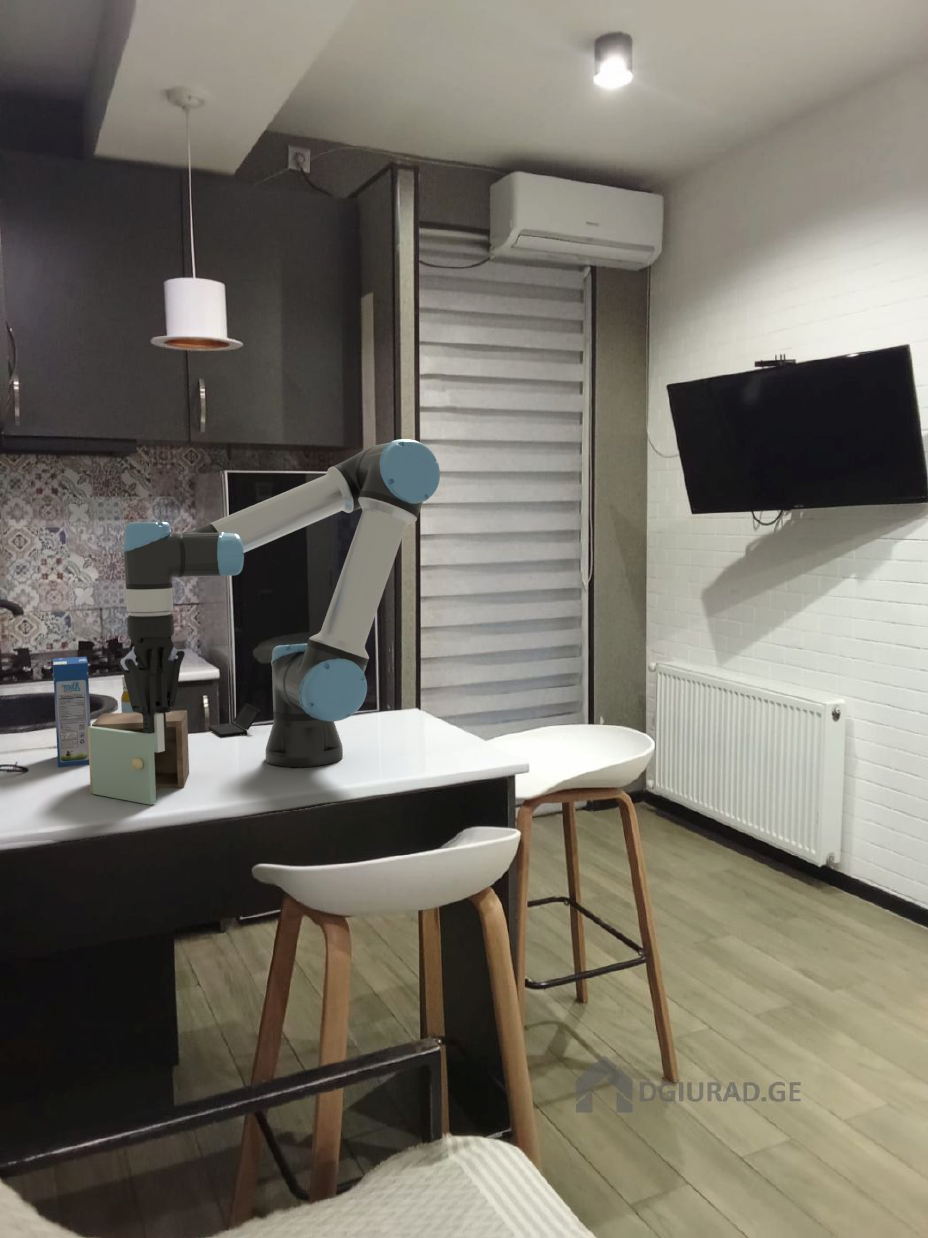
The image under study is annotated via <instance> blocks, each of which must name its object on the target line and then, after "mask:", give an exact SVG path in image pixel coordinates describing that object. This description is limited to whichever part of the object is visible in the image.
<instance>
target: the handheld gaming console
mask: <svg viewBox="0 0 928 1238" xmlns="http://www.w3.org/2000/svg"><path fill="white" fill-rule="evenodd" d="M260 713H261V709H259V708H257V707H255V706H253V705H252V704H249V703H248V702H245V703H244V704H243V706H242V707H241V708H240V710H239V711H238V713H237V714H236V716H235V717H234V718H233V721H231V722H229V723H220V724H214V725H213V724H212V725H208V726H207V727H208V728H207V729H208V730H209V731H210V732H212V733H213V734H215V736H217V737H220V738H231V737H239V736H248V731H249V730H250V728H251V727H252V725H253V723H254V722H255V721H256V718H257V717H258V716H259V715H260Z"/></svg>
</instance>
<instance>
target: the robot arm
mask: <svg viewBox="0 0 928 1238" xmlns="http://www.w3.org/2000/svg"><path fill="white" fill-rule="evenodd" d="M440 478H441V469H440V465H439V462H438V461H437V458H436V455H435V453H433V451H432V450H431V449H430V448H429V447H428V446H426V445H425V444H424V443H422V442H419V441H417V440H413V439H395V440H392V441H390V442H386V443H381V444H375V445H372V446H370V447H367V448H366V449H364V450H362V451H360V452H359V453H357V454H356V455H355V454H354V456H351V457H350V458H347V459H346V460H344V461H342V462H339V463H338V464H336V465H332V466H330V467H329V468H328V469H327V472H326V474H325V475H322V476H320V477H317V478H315V479H313V480H311V481H308V482H306V483H303V484H301V485H299V486H296V487H293V488H291V489H289V490H287V491H285V492H282V493H280V494H277V495H274V496H273V497H269V498H268V499H265V500H263V501H261V502H258V503H255V504H254V505H250V506H248V507H246V508H243V509H241V510H239V511H236V512H234V513H232V514H229V515H227V516H226V515H225V516H224V517H222V518H220V519H217V520H215V521H212V522H210V523H208V524H205V525H203V526H201V527H198V528H196V529H193V530H191V531H184V532H182V533H176V532H172V529H171V525H170V523H169V522H166V521H131V522H128V523H127V524H125V527H124V530H123V531H124V532H123V549H122V550H123V559H124V577H125V579H124V581H125V600H126V601H125V602H126V611H127V612H128V613H130V615H127V617H126V628H127V636H128V637H129V639H130V643H129V648H128V653H127V654H126V655H125V656H124V657H119V658H117V662H116V663H117V665H118V666H119V668H120V670H121V671H122V676H123V675H124V679H125V683H126V687H127V691H128V695H129V699H130V703H131V707H132V711H133V712H138V713H141V714H142V715H143V731H144V733H146V734H153V736H154V752H157V753H159V752H162V751H165V745H164V730H166V713H169V712H170V711H172V710H171V709H172V708H173V707H175V705H176V699H177V693H178V685H179V680H180V673H181V666H182V662H183V660H184V659H185V658H184V657H185V654H186V653H185V651H184V650H179V649H177V648H175V647H174V641H173V640H172V636H173V635H174V634H175V621H174V620H175V619H174V615H173V614H172V613H171V612H173V611H174V596H173V594H174V593H173V578H192V577H194V578H200V577H201V578H202V577H203V578H206V577H221V578H224V577H226V576H227V577H228V576H229V577H231V576H237V575H239V574H241V572H242V571H243V567H244V561H245V553H246V552H249V551H251V550H253V549H256V548H259V547H261V546H263V545H266V544H268V543H271V542H272V541H275V540H277V539H279V538H282V537H284V536H287V535H288V534H291V533H293V532H295V531H298V530H300V529H302V528H305V527H307V526H310V525H312V524H314V523H316V522H319V521H321V520H324V519H326V518H328V517H330V516H333V515H334V514H338V513H339V512H341V511H343V512H345V513H347V514H350V513H352V512H354V511H357V510H359V509H361V511H362V512H361V515H360V518H359V521H358V524H357V526H356V529H355V533H354V535H353V538H352V541H351V544H350V546H349V549H348V552H347V555H346V558H345V561H344V563H343V567H342V569H341V572H340V575H339V578H338V581H337V583H336V587H335V589H334V592H333V594H332V598H331V601H330V604H329V606H328V609H327V611H326V616H325V618H324V621H323V624H322V627H321V630H320V631H318V633H317V634H314V635H312V636H310V637H309V638H308V642H307V643H296V644H285V645H277V646H275V647H274V648H273V649H272V652H271V661H270V664H271V671H272V672H271V674H272V678H271V679H272V702H273V703H272V706H273V724H272V726H271V730H270V734H269V736H268V739H267V743H266V747H265V761H266V762H267V763H268V764H271V765H273V766H277V767H287V768H304V767H308V768H309V767H318V766H325V765H328V764H333V763H335V762H338V761H341V759H343V755H344V754H343V753H344V752H343V743H342V739H341V738H340V735H339V731H338V730H337V729H338V728H337V726H336V723H335V722H339V721H343V720H345V719H348V718H349V717H351V716H353V715H354V714H355V713H356V712H357V711H358V710H359V709H360V708H361V707H362V705H363V704H364V702H365V699H366V698H367V697H366V696H367V692H368V684H367V683H368V682H367V679H366V678H367V677H366V676H365V671H366V668H367V665H368V663H369V659H370V657H369V654H368V652H367V650H366V643H367V641H368V637H369V635H370V631H371V629H372V625H373V623H374V620H375V617H376V614H377V611H378V609H379V605H380V602H381V599H382V597H383V594H384V590H385V588H386V584H387V582H388V579H389V577H390V574H391V571H392V568H393V565H394V562H395V559H396V556H397V554H398V553H397V552H398V551H399V547H400V545H401V542H402V539H403V536H404V532H405V530H406V528H407V526H409V525H411V524H413V523H415V522H417V520H418V518H419V514H420V512H421V509H422V506H423V503H424V502H427V501H428V500H429V499H430V498H431V497H432V496H433V495H434V494H435V493H436V491H437V489H438V487H439V484H440Z"/></svg>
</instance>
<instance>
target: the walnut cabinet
mask: <svg viewBox="0 0 928 1238" xmlns="http://www.w3.org/2000/svg"><path fill="white" fill-rule="evenodd" d="M91 726H94V727H103V728H110V729H117V730H125V731H132V732H139V733H144V731H143V715H142V714H141V713H138V712H134V713H122V712H115V713H114V712H113V713H101V715H99V716H98V717H97V719H95V721H94V722H92V724H91ZM188 728H189V727H188V710H187V709H186V710H170V712H169V713H166V730H164V745H165V751H162V752H159V753H157V752H154V761H155V786H156V789H163V788H164V789H165V788H167V789H168V788H178V789H179V788H180V789H181V788H182V789H183V788H185V785H186V783H187V780H188V778H189V775H190V759H189V756H190V755H189V752H190V751H189V731H188Z"/></svg>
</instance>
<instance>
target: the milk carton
mask: <svg viewBox="0 0 928 1238" xmlns="http://www.w3.org/2000/svg"><path fill="white" fill-rule="evenodd" d="M88 663H89V662H88V658H87V656H76V657H59V658H58V657H57V658H53V659H52V671H53V677H52V678H53V692H54V693H53V695H54V712H55V734H56V750H57V751H56V753H57V767H58V768H62V767H63V768H65V767H72V766H83V765H84V766H85V765H89V744H88V727H89V726H92V724H91V708H90V707H91V706H90V705H91V703H90V686H89V684H90V683H89V664H88Z"/></svg>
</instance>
